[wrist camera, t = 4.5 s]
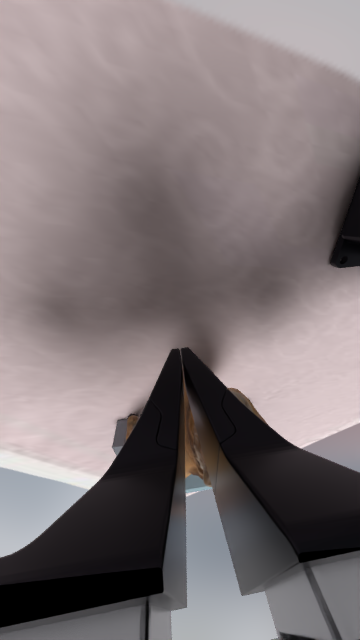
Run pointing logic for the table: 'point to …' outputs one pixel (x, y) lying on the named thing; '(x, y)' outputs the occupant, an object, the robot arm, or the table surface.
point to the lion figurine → (195, 438)
